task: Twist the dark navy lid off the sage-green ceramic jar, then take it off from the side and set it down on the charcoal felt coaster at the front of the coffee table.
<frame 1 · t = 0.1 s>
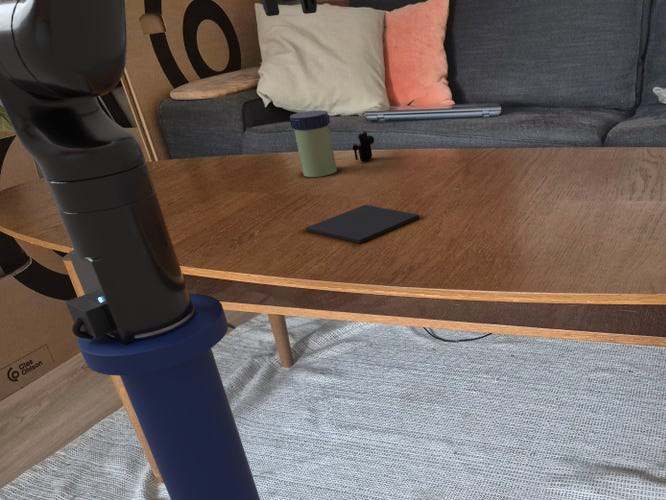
hand: (291, 14, 102), 26 cm above the table, tool pointing down, fingers open, 8 cm apart
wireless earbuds: (368, 161, 126), on the table
jar lid: (309, 116, 116), point 10 cm above the table, screwed on, not yet turned
jar: (320, 172, 120), on the table
coaster: (363, 224, 92), on the table
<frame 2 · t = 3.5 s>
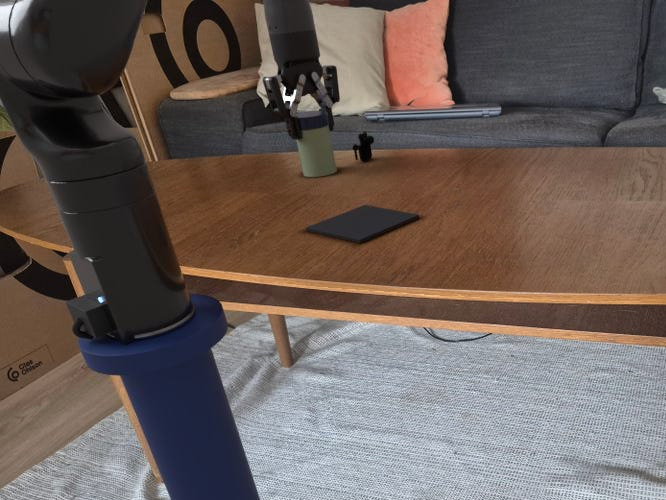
hand: (312, 134, 117), 7 cm above the table, tool pointing down, fingers closed on jar lid, 6 cm apart
jar lid: (309, 116, 116), point 10 cm above the table, screwed on, not yet turned, touching gripper
everything else where it was.
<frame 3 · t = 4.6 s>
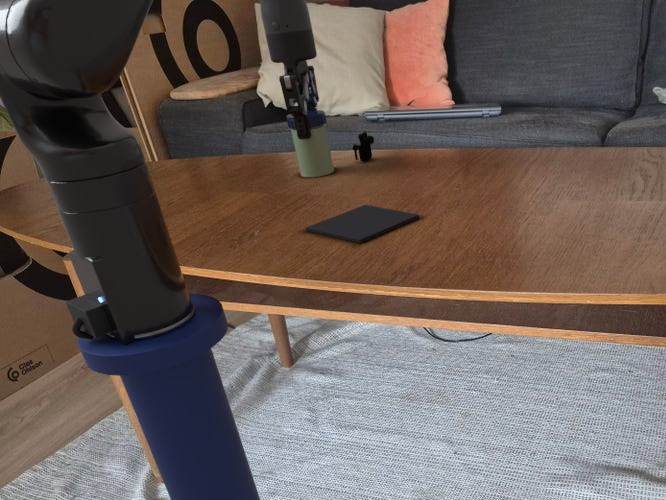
hand: (309, 134, 117), 7 cm above the table, tool pointing down, fingers closed on jar lid, 6 cm apart
jar lid: (305, 116, 116), point 10 cm above the table, turned 34° so far, risen 0.1 cm, still on its thread, touching gripper
everything else where it was.
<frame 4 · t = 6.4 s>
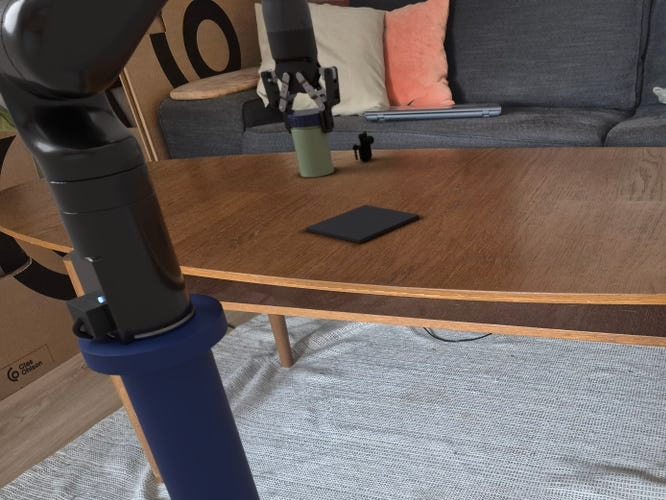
hand: (310, 132, 117), 7 cm above the table, tool pointing down, fingers closed on jar lid, 6 cm apart
jar lid: (307, 114, 116), point 10 cm above the table, off its thread, touching gripper, jar
jar: (317, 172, 120), on the table, touching jar lid
everything else where it was.
when the fingers open (7 cm above the table, at t = 8.6 s): jar lid stays where it is, resting on jar.
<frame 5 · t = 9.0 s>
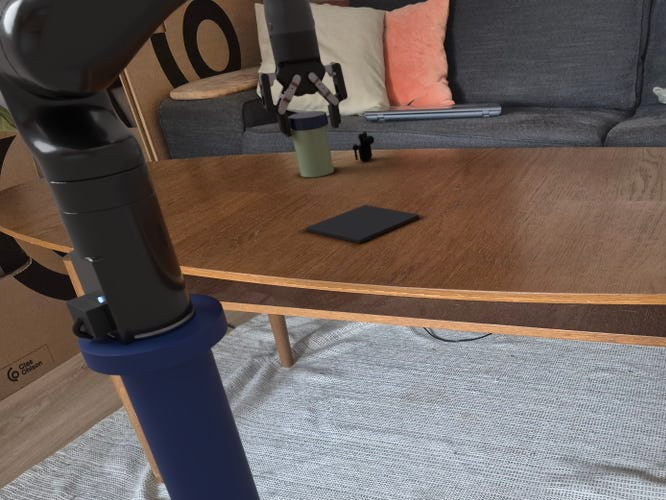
hand: (312, 131, 117), 7 cm above the table, tool pointing down, fingers open, 8 cm apart
jar lid: (307, 117, 116), point 10 cm above the table, off its thread, touching jar
everything else where it was.
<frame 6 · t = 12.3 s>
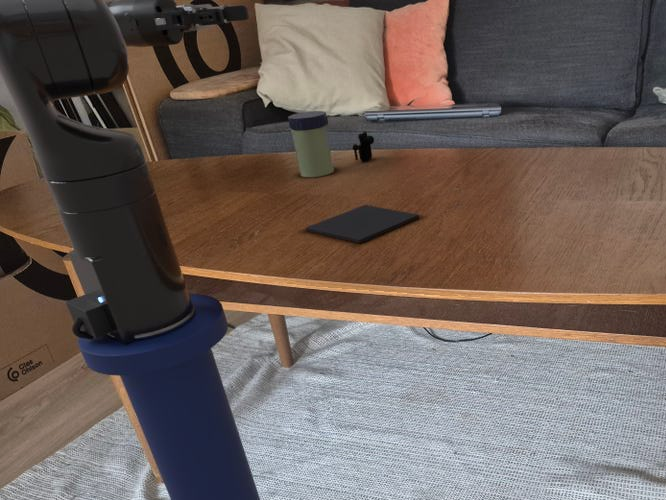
hand: (234, 14, 109), 26 cm above the table, tool horizontal, fingers open, 8 cm apart
nothing on the table moved.
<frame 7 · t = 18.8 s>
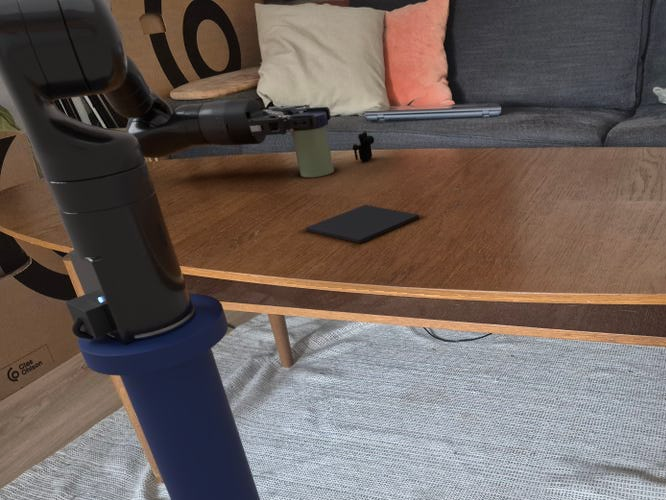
hand: (322, 117, 115), 9 cm above the table, tool horizontal, fingers closed on jar lid, 6 cm apart
jar lid: (307, 117, 116), point 10 cm above the table, off its thread, touching gripper, jar
everything else where it was.
when the fingers open (4 cm above the table, at t = 30.0 s): jar lid drops 2 cm, resting on coaster.
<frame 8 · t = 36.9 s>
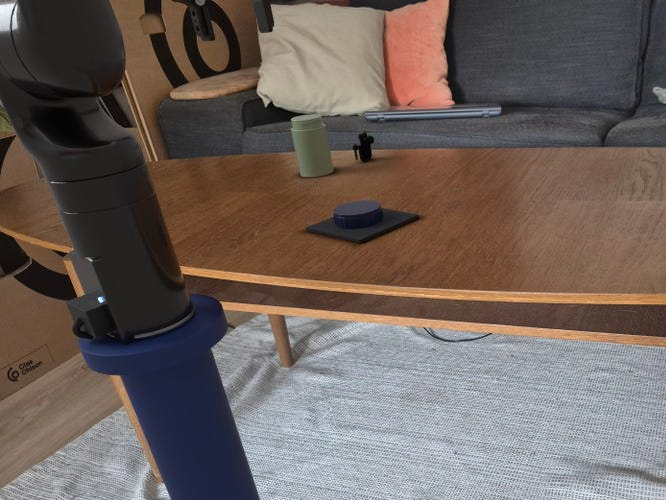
hand: (238, 36, 85), 24 cm above the table, tool pointing down, fingers open, 8 cm apart
jar lid: (357, 210, 91), point 2 cm above the table, off its thread, touching coaster
jar: (317, 172, 120), on the table
everything else where it was.
at the end: jar lid inside the target area on the coaster (0.4 cm from its centre), point 2.0 cm above the coaster's base; jar lid point 2.0 cm above the table; the gripper is holding nothing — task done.
